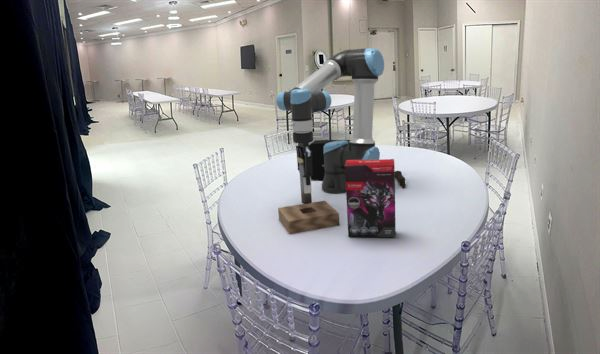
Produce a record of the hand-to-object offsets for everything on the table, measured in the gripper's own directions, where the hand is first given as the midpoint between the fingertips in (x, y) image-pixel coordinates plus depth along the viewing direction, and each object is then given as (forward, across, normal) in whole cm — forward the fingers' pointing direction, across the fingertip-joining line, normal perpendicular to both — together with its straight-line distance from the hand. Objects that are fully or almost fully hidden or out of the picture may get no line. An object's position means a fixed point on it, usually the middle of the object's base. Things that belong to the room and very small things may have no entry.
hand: (306, 191), depth 171 cm
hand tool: (+13, -30, +58) cm, 66 cm away
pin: (+5, 0, 0) cm, 5 cm away
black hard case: (+13, -52, +33) cm, 63 cm away
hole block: (+13, 0, 0) cm, 13 cm away
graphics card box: (+13, +21, +18) cm, 30 cm away
